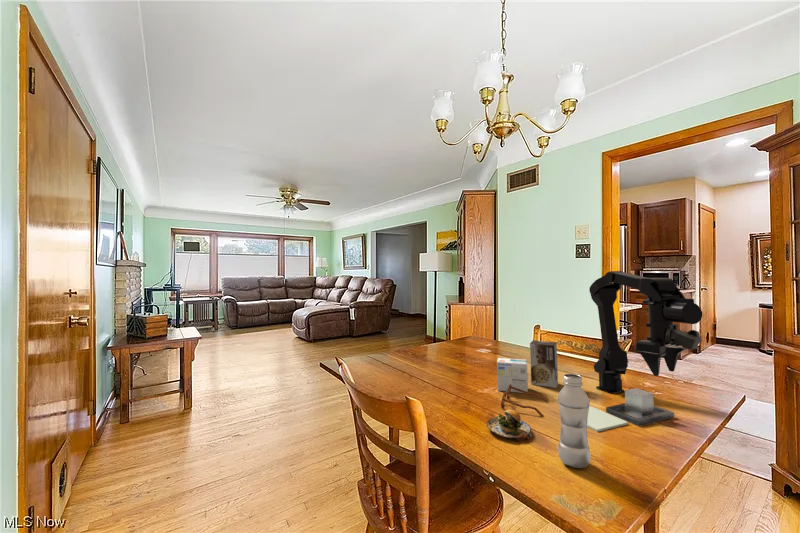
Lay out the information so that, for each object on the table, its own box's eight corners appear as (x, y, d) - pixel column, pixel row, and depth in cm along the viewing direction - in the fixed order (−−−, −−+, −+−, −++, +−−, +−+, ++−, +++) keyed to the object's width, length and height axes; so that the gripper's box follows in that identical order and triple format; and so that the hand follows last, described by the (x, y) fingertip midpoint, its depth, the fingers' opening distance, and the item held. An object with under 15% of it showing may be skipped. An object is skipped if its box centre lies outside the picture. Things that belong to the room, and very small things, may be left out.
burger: (482, 422, 97) (482, 397, 97) (523, 422, 97) (522, 396, 97) (492, 443, 85) (492, 414, 85) (538, 443, 85) (538, 414, 85)
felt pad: (561, 414, 101) (561, 412, 101) (591, 408, 105) (591, 406, 105) (597, 431, 90) (597, 429, 90) (628, 424, 94) (628, 422, 94)
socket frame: (606, 412, 102) (605, 407, 102) (639, 404, 107) (639, 400, 107) (639, 426, 93) (638, 421, 93) (674, 417, 98) (674, 412, 98)
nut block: (625, 413, 101) (624, 390, 101) (636, 410, 103) (636, 388, 103) (642, 419, 97) (641, 396, 97) (653, 417, 98) (653, 393, 98)
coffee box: (558, 383, 128) (557, 341, 128) (556, 388, 123) (555, 345, 123) (533, 379, 133) (532, 339, 133) (530, 384, 128) (529, 342, 128)
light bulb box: (527, 387, 124) (526, 359, 124) (528, 394, 118) (527, 363, 118) (498, 384, 128) (497, 357, 128) (497, 391, 121) (496, 361, 121)
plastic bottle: (552, 456, 78) (550, 372, 78) (579, 455, 79) (577, 371, 79) (568, 473, 72) (566, 381, 72) (598, 471, 72) (595, 380, 73)
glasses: (508, 396, 117) (508, 382, 117) (548, 402, 111) (548, 388, 111) (500, 409, 106) (499, 394, 106) (544, 418, 99) (543, 401, 99)
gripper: (679, 325, 86) (683, 385, 85) (709, 320, 95) (713, 375, 94) (632, 321, 96) (635, 375, 95) (664, 317, 105) (667, 366, 104)
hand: (664, 373), depth 97 cm, fingers open, 9 cm apart
